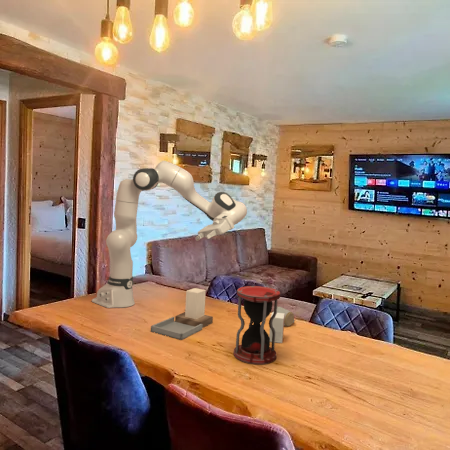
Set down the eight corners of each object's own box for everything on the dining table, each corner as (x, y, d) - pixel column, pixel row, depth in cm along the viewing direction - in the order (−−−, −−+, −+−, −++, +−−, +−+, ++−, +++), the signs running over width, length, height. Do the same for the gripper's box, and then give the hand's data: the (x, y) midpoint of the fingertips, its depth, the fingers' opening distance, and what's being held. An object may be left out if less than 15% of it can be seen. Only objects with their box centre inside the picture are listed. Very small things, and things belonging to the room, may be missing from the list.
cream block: (185, 316, 190) (186, 290, 189) (193, 313, 196) (194, 287, 195) (196, 319, 187) (197, 293, 186) (204, 315, 193) (205, 290, 192)
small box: (282, 343, 172) (283, 318, 171) (268, 341, 173) (270, 317, 172) (283, 336, 179) (285, 313, 178) (270, 335, 180) (272, 311, 179)
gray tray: (150, 331, 177) (150, 325, 177) (172, 322, 191) (172, 316, 190) (181, 340, 169) (181, 334, 169) (202, 329, 183) (202, 324, 183)
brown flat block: (175, 322, 190) (175, 316, 190) (187, 317, 199) (187, 310, 199) (200, 328, 184) (201, 322, 183) (212, 323, 192) (212, 316, 192)
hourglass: (241, 366, 148) (245, 297, 145) (228, 348, 163) (232, 285, 161) (283, 363, 152) (287, 296, 150) (267, 346, 168) (271, 285, 165)
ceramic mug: (285, 328, 190) (286, 312, 190) (271, 323, 196) (272, 307, 195) (298, 324, 198) (300, 308, 197) (284, 319, 204) (286, 304, 203)
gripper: (207, 221, 212) (187, 235, 205) (230, 215, 195) (209, 230, 188) (213, 231, 213) (194, 245, 206) (236, 227, 197) (216, 242, 189)
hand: (201, 238), depth 197 cm, fingers open, 8 cm apart
